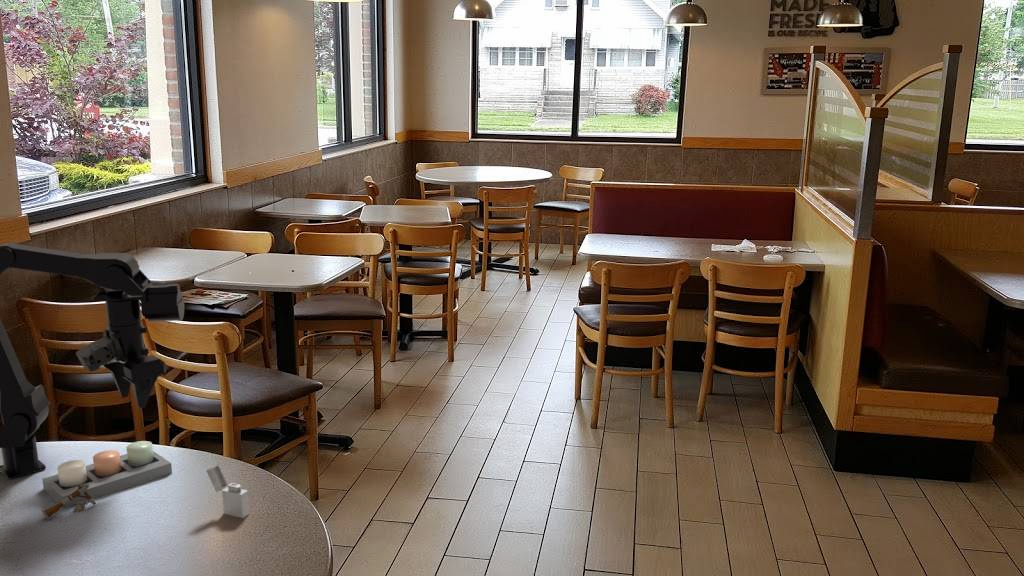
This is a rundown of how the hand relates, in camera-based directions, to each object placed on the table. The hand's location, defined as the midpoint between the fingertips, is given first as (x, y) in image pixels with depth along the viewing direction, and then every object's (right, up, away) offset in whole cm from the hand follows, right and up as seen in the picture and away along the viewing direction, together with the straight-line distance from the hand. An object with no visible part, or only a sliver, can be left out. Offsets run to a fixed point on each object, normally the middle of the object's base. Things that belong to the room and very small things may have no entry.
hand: (133, 402), depth 164 cm
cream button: (-6, -13, -10) cm, 17 cm away
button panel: (-2, -14, -5) cm, 15 cm away
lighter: (+24, -17, -17) cm, 33 cm away
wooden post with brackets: (-4, -17, -17) cm, 24 cm away
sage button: (+2, -11, -2) cm, 11 cm away
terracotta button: (-2, -12, -6) cm, 13 cm away
